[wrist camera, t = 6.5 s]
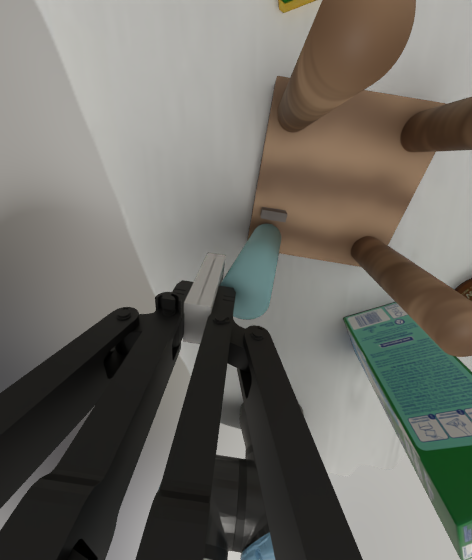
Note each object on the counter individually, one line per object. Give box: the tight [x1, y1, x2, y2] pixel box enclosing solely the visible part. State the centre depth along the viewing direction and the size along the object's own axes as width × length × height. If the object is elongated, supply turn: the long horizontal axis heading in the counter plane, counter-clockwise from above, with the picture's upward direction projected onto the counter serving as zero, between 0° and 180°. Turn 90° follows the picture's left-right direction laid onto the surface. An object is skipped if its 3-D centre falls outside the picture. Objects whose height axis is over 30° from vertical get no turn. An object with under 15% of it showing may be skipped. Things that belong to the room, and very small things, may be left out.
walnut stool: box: [247, 0, 472, 357], centre depth 20 cm, size 19×18×19 cm
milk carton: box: [343, 302, 472, 560], centre depth 28 cm, size 9×9×25 cm
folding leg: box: [220, 224, 281, 319], centre depth 21 cm, size 4×4×14 cm
